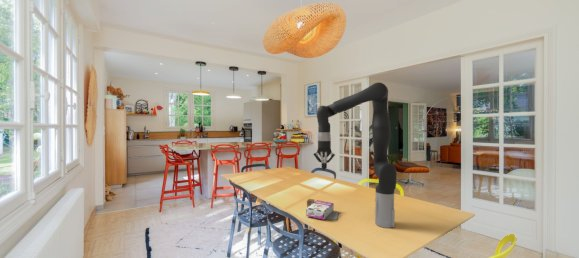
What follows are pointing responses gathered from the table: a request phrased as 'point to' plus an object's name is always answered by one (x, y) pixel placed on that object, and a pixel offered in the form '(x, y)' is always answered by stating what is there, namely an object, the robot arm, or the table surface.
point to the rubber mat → (332, 216)
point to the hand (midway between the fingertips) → (324, 169)
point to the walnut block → (310, 202)
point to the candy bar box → (319, 209)
